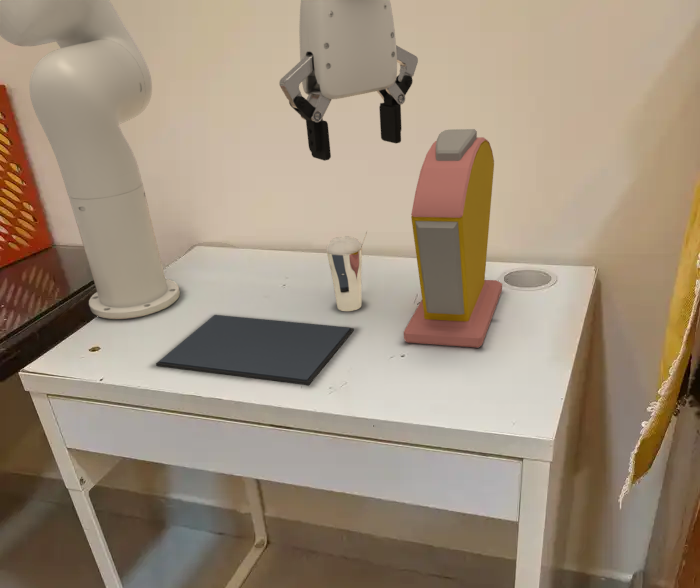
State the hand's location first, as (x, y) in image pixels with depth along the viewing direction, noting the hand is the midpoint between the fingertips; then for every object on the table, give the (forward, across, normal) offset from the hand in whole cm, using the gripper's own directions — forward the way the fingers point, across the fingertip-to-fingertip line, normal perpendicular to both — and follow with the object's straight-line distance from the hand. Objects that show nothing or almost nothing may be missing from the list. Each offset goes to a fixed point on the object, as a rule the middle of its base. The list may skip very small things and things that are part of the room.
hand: (357, 149), depth 83 cm
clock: (+20, -7, +10) cm, 23 cm away
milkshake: (+20, +1, -2) cm, 20 cm away
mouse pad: (+20, +17, 0) cm, 26 cm away
